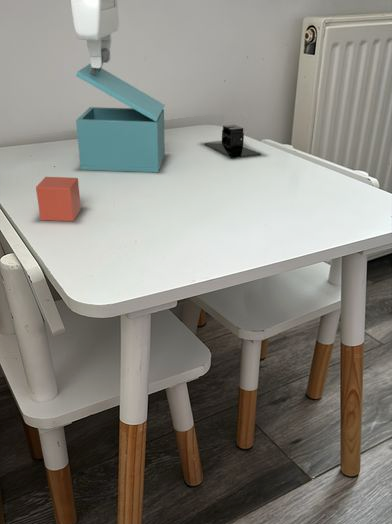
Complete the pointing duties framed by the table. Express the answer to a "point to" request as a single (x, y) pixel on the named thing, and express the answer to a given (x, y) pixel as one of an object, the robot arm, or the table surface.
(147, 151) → the box
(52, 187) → the red cube
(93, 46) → the robot arm
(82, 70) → the freezer lid
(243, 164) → the table surface
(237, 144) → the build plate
